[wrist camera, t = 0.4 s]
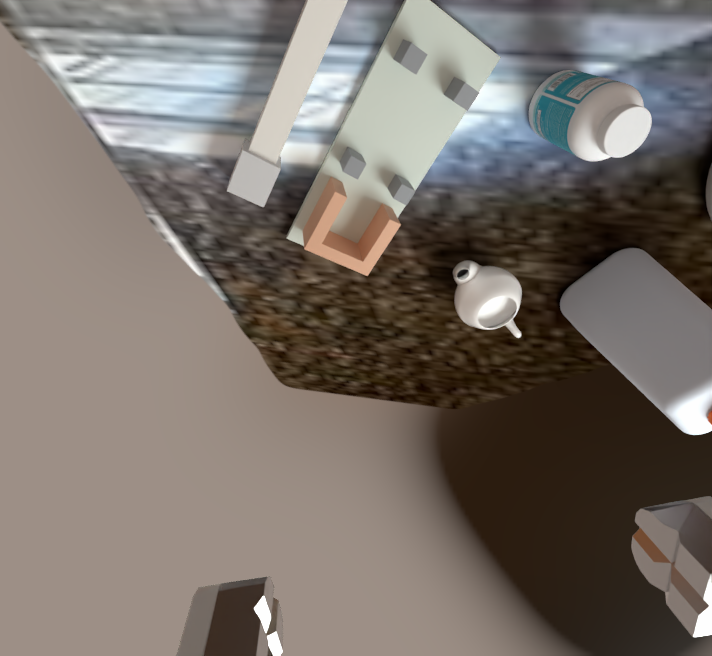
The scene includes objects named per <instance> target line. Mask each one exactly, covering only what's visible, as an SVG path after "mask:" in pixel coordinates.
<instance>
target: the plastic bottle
mask: <svg viewBox="0 0 712 656" xmlns="http://www.w3.org/2000/svg"><path fill="white" fill-rule="evenodd" d="M560 309H561V312H562V313H563V315H564V316H565V317H566V318H567V319H568V320H569V321H570V322H571V323H572V325H573V326H574V327H575V328H576V329H577V330H578V331H579V332H580V333H581V334H582V335H583V336H584V337H585V338H586V339H587V340H588V341H589V342H590V343H591V344H592V345H593V346H594V347H595V348H596V349H597V350H598V351H599V352H600V353H602V354H603V355H604V356H605V357H606V358H607V359H608V360H609V361H610V362H611V363H612V364H613V365H614V366H615V367H616V368H617V369H618V370H619V371H620V372H621V373H622V374H623V375H624V376H625V377H626V378H627V379H629V380H630V381H631V382H632V383H633V384H634V385H635V386H636V387H637V388H638V389H639V390H640V391H641V392H642V393H643V394H644V395H645V396H646V397H647V398H648V399H649V400H650V401H651V402H653V404H654V405H656V406H657V407H658V408H659V409H660V410H661V411H662V412H663V413H664V414H665V415H666V416H667V417H668V418H669V419H670V420H671V421H672V422H673V423H674V424H675V425H676V426H677V427H678V428H679V429H680V430H682V431H683V432H685V433H687V434H691V435H700V434H704V433H707V432H710V431H712V310H711V309H710V308H709V307H708V306H707V305H706V304H705V303H703V302H702V301H701V300H700V299H699V298H698V297H697V296H695V295H694V294H693V293H692V292H691V291H690V290H689V289H687V288H686V287H685V286H684V285H683V284H682V283H681V282H680V281H678V280H677V279H676V278H675V277H674V276H673V275H672V274H670V273H669V272H668V271H667V270H666V269H665V268H664V267H662V266H661V265H660V264H659V263H658V262H657V261H656V260H654V259H653V258H652V257H651V256H650V255H649V254H648V253H646V252H645V251H643V250H641V249H638V248H626V249H622V250H619V251H617V252H615V253H613V254H612V255H610V256H609V257H608V258H606V259H605V260H604V261H602V262H601V263H600V264H598V265H597V266H596V267H594V268H593V269H592V270H590V271H589V272H588V273H586V274H585V275H583V276H582V277H581V278H579V279H578V280H577V281H575V282H574V283H573V284H571V285H570V286H569V287H568V288H567V289H566V290H565V292H564V293H563V295H562V297H561V300H560Z"/></svg>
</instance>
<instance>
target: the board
mask: <svg viewBox="0 0 712 656" xmlns="http://www.w3.org/2000/svg"><path fill="white" fill-rule="evenodd" d="M500 58H501V57H499V56H498V55H497V54H496V53H495V52H493V51H492V50H491V49H490V48H488V47H487V46H486V45H485V44H483V43H482V42H481V41H480V40H478V39H477V38H476V37H475V36H474V35H472V34H471V33H470V32H469V31H467V30H466V29H465V28H464V27H462V26H461V25H460V24H459V23H457V22H456V21H455V20H454V19H453V18H451V17H450V16H449V15H448V14H446V13H445V12H444V11H443V10H441V9H440V8H439V7H438V6H436V5H435V4H434V3H433V2H431V1H430V0H404V2H403V4H402V6H401V8H400V10H399V12H398V14H397V16H396V18H395V20H394V22H393V24H392V26H391V28H390V30H389V32H388V34H387V36H386V38H385V40H384V42H383V44H382V46H381V48H380V50H379V52H378V54H377V56H376V58H375V60H374V62H373V64H372V66H371V68H370V70H369V72H368V74H367V76H366V78H365V80H364V82H363V84H362V86H361V88H360V90H359V92H358V94H357V96H356V98H355V100H354V102H353V104H352V106H351V108H350V110H349V112H348V114H347V116H346V118H345V120H344V122H343V124H342V126H341V128H340V130H339V132H338V134H337V136H336V138H335V140H334V142H333V144H332V146H331V148H330V150H329V152H328V154H327V156H326V158H325V160H324V162H323V164H322V166H321V168H320V170H319V172H318V174H317V176H316V178H315V180H314V182H313V184H312V186H311V188H310V190H309V192H308V194H307V196H306V198H305V200H304V202H303V204H302V206H301V208H300V210H299V212H298V214H297V216H296V218H295V220H294V222H293V224H292V226H291V228H290V230H289V232H288V234H287V239H289V240H291V241H294V242H296V243H298V244H301V245H303V246H304V249H305V250H307V251H310V252H312V253H315V254H317V255H319V256H322V257H324V258H326V259H329V260H331V261H333V262H336V263H338V264H340V265H343V266H345V267H347V268H350V269H352V270H355V271H357V272H359V273H362V274H364V275H366V276H368V274H369V273H370V271H371V270H372V268H373V267H374V265H375V264H376V262H377V261H378V259H379V257H380V256H381V254H382V253H383V251H384V250H385V248H386V247H387V245H388V244H389V242H390V241H391V239H392V238H393V236H394V235H395V233H396V231H397V230H398V228H399V227H400V225H401V224H400V222H399V220H398V217H399V215H400V213H401V212H402V210H403V209H404V207H405V206H406V205H407V204H408V202H409V201H410V199H411V198H412V196H413V194H414V193H415V190H416V189H417V187H418V185H419V184H420V182H421V181H422V179H423V178H424V176H425V175H426V173H427V171H428V170H429V168H430V167H431V165H432V164H433V162H434V161H435V159H436V157H437V156H438V154H439V153H440V151H441V150H442V148H443V147H444V145H445V144H446V142H447V140H448V139H449V137H450V136H451V134H452V133H453V131H454V130H455V128H456V126H457V125H458V123H459V122H460V120H461V119H462V117H463V116H464V114H465V112H466V111H468V109H469V108H470V106H471V105H472V103H473V101H474V100H475V98H476V97H477V95H478V94H479V91H480V89H481V88H482V86H483V84H484V83H485V81H486V80H487V78H488V77H489V75H490V74H491V72H492V71H493V69H494V67H495V66H496V64H497V63H498V61H499V60H500Z"/></svg>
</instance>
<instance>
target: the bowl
mask: <svg viewBox="0 0 712 656" xmlns="http://www.w3.org/2000/svg"><path fill="white" fill-rule="evenodd" d="M706 205H707V209H708V213H709V215H710V218H711V220H712V163H711V166H710V169H709V173H708V178H707V183H706Z"/></svg>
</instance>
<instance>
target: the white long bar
mask: <svg viewBox="0 0 712 656" xmlns="http://www.w3.org/2000/svg"><path fill="white" fill-rule="evenodd" d="M347 1H348V0H306V1H305V3H304V6H303V9H302V11H301V14H300V16H299V19H298V21H297V24H296V26H295V29H294V31H293V34H292V36H291V39H290V42H289V44H288V47H287V49H286V52H285V54H284V57H283V59H282V62H281V64H280V67H279V70H278V72H277V75H276V77H275V80H274V82H273V85H272V87H271V90H270V92H269V95H268V97H267V100H266V103H265V105H264V108H263V110H262V113H261V115H260V118H259V120H258V123H257V125H256V128H255V130H254V133H253V136H252V138H251V141H248V140H247V139H245V141H244V143H243V146H242V148H241V151H240V154H239V156H238V159H237V161H236V164H235V167H234V169H233V172H232V174H231V177H230V181H229V184H228V188H227V191H228V192H230V193H233V194H235V195H237V196H239V197H241V198H244V199H246V200H248V201H250V202H252V203H255V204H257V205H259V206H261V207H264V206H265V203H266V201H267V199H268V197H269V194H270V192H271V190H272V188H273V186H274V183H275V181H276V179H277V177H278V174H279V172H280V170H281V157H280V153H281V151H282V149H283V147H284V144H285V142H286V140H287V137H288V135H289V133H290V131H291V128H292V126H293V124H294V122H295V119H296V117H297V115H298V112H299V110H300V108H301V106H302V103H303V101H304V99H305V96H306V94H307V92H308V90H309V87H310V85H311V83H312V81H313V78H314V76H315V74H316V71H317V69H318V67H319V65H320V62H321V60H322V58H323V55H324V53H325V51H326V49H327V46H328V44H329V42H330V39H331V37H332V35H333V33H334V30H335V28H336V26H337V24H338V21H339V19H340V17H341V14H342V12H343V10H344V8H345V5H346V3H347Z"/></svg>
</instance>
